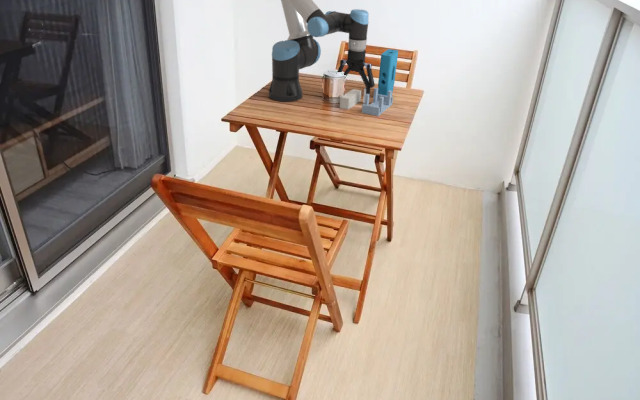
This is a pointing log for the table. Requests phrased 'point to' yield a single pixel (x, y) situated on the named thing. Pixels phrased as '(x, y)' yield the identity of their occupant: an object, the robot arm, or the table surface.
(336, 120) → the table surface
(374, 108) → the rack
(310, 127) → the table surface
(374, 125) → the table surface
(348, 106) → the white rectangular bar
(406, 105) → the table surface
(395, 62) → the block
